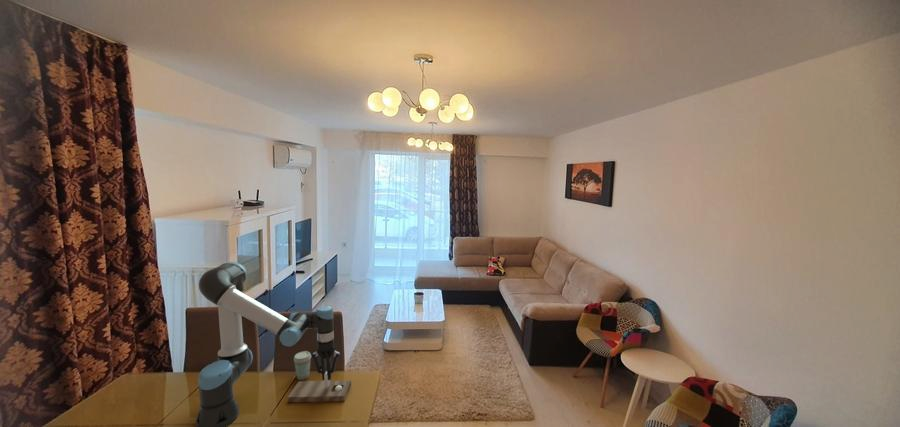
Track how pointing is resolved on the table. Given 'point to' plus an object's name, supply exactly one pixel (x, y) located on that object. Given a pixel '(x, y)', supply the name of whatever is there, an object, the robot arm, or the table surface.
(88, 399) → the table surface
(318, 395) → the deck
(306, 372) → the coffee cup
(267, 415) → the table surface
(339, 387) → the ball
